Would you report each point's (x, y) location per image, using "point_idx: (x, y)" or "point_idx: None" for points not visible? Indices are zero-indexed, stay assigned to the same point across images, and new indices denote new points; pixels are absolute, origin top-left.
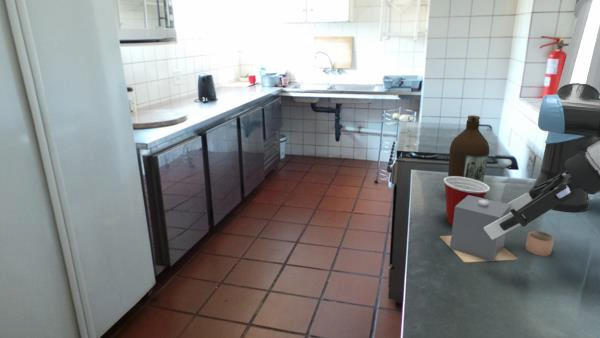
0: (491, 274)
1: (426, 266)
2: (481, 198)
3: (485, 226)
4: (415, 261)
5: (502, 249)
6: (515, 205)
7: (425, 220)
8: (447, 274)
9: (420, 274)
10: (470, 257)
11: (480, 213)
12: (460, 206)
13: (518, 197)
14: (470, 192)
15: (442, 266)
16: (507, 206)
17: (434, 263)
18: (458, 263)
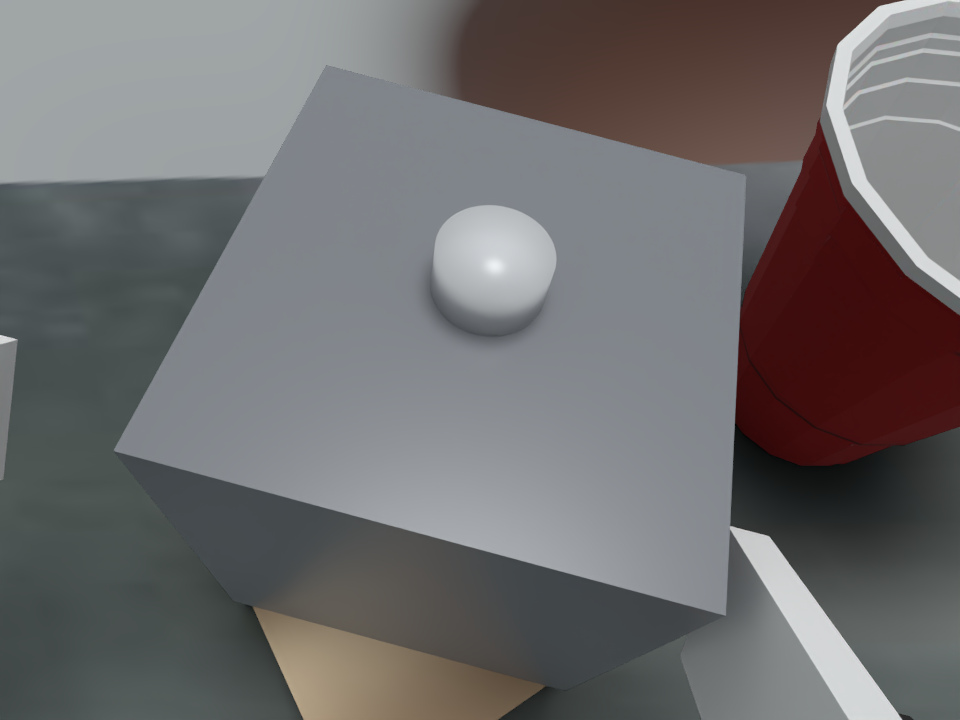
0: (118, 608)
1: (128, 245)
2: (726, 283)
3: (6, 342)
4: (174, 196)
5: (491, 681)
6: (763, 693)
7: (745, 216)
8: (53, 347)
9: (22, 224)
10: None
11: (225, 260)
12: (349, 102)
13: (876, 709)
14: (846, 197)
15: (152, 319)
16: (617, 566)
17: (179, 280)
18: None
